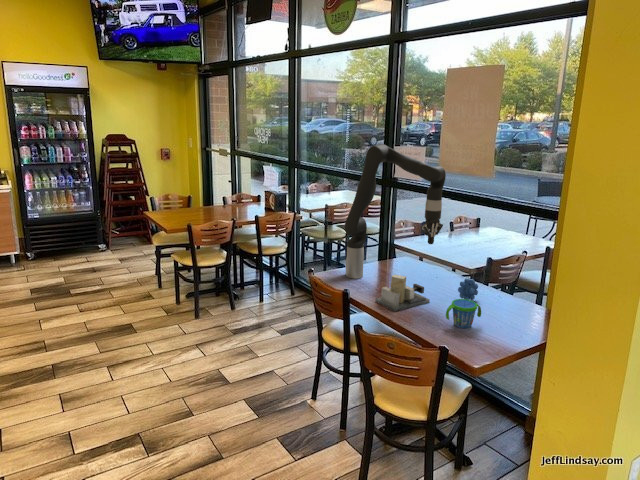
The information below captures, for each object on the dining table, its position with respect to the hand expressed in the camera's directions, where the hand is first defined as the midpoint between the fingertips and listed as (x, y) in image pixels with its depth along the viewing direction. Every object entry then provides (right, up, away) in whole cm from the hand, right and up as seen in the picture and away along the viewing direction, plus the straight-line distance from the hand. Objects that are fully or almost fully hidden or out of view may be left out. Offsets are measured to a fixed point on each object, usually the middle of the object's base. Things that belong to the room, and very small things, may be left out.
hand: (430, 243), depth 233 cm
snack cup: (+8, -35, -25) cm, 44 cm away
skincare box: (-17, -27, -3) cm, 32 cm away
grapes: (+18, -28, 0) cm, 34 cm away
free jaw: (-9, -26, +1) cm, 27 cm away
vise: (-14, -28, -1) cm, 31 cm away
